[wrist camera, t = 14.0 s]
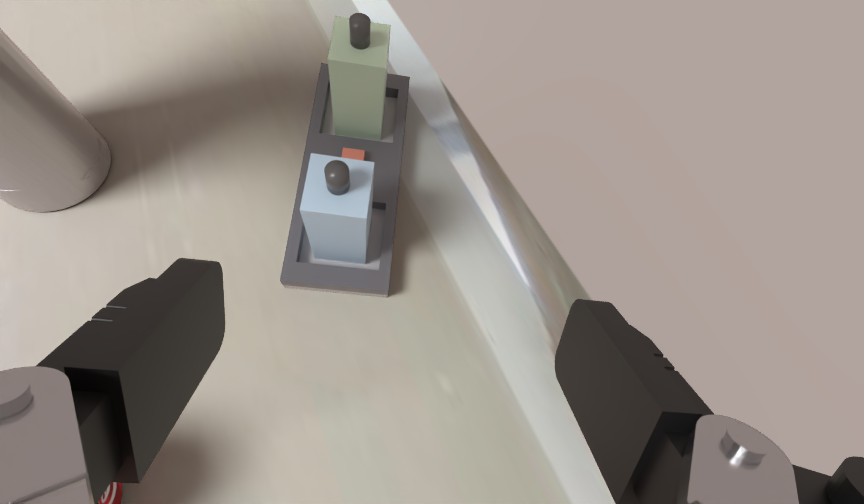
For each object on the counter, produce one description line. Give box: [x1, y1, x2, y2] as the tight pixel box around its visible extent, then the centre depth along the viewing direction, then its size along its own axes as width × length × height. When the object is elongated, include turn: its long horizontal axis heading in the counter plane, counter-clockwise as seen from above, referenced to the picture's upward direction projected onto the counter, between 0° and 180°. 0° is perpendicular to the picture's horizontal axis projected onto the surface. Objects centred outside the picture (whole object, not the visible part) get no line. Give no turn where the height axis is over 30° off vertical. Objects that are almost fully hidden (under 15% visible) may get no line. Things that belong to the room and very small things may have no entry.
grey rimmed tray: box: [280, 63, 410, 297], centre depth 42 cm, size 9×23×3 cm, turn 176°
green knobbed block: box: [328, 13, 391, 141], centre depth 39 cm, size 4×4×12 cm
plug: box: [300, 153, 374, 264], centre depth 34 cm, size 4×4×12 cm
